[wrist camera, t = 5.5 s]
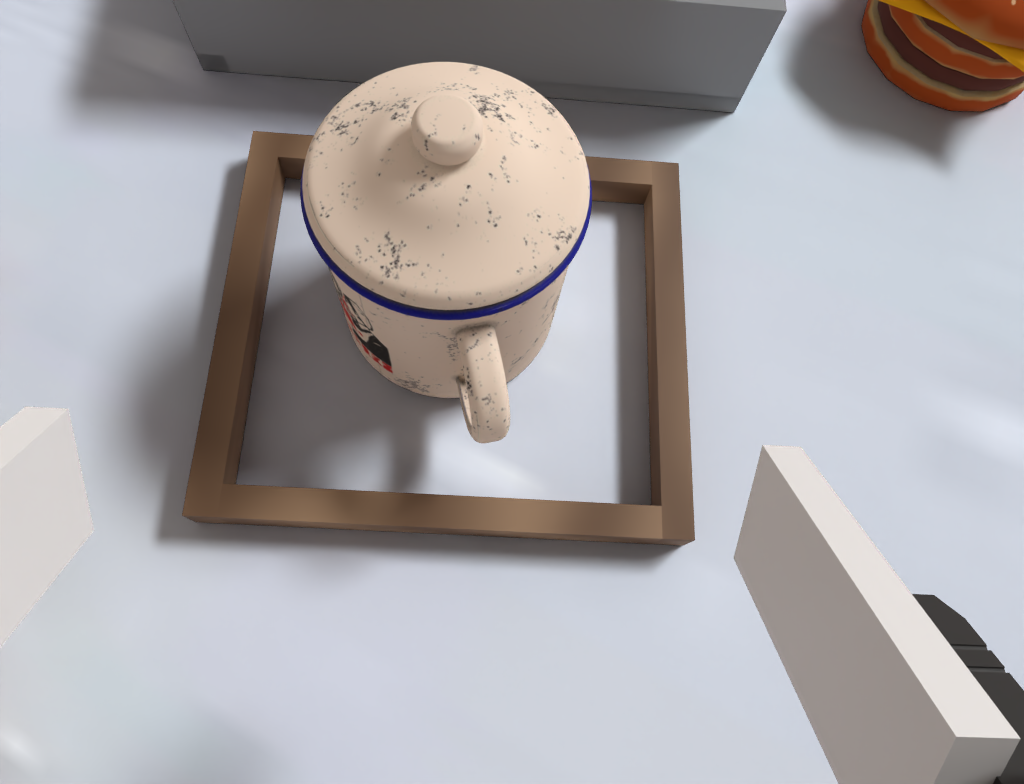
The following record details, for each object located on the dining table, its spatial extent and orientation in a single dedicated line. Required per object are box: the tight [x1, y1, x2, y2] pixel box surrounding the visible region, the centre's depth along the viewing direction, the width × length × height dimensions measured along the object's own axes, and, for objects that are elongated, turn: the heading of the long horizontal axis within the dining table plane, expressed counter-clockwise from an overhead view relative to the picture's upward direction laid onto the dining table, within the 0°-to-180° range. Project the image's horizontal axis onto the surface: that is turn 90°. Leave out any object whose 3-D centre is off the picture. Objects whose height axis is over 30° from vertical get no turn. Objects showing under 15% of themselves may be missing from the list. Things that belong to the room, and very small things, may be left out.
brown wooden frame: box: [182, 131, 695, 545], centre depth 30 cm, size 18×16×2 cm
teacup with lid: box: [300, 62, 592, 443], centre depth 25 cm, size 12×9×12 cm
